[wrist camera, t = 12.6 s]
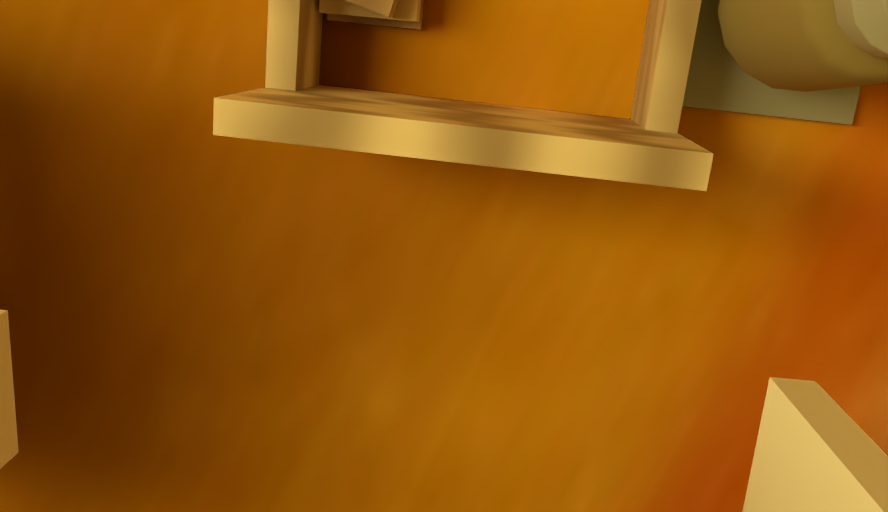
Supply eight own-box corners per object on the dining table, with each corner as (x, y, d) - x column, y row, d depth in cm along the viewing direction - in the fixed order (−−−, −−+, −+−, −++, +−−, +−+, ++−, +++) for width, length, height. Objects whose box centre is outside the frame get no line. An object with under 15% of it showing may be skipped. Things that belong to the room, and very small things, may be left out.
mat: (666, 104, 42) (668, 104, 42) (706, -121, 39) (708, -123, 39) (848, 123, 42) (851, 124, 41) (901, -102, 39) (906, -104, 38)
